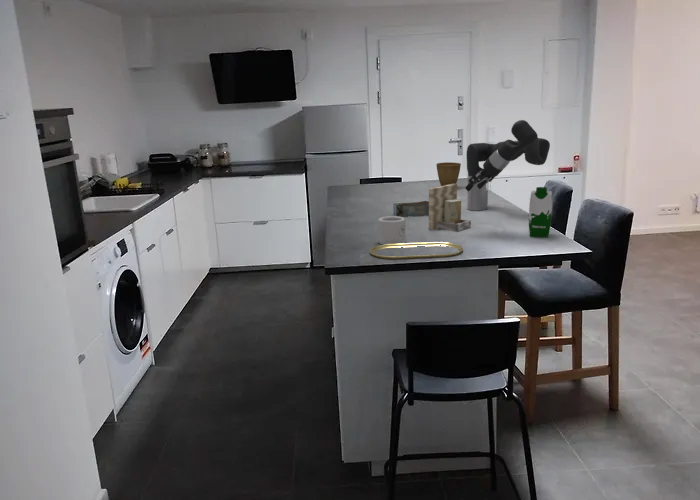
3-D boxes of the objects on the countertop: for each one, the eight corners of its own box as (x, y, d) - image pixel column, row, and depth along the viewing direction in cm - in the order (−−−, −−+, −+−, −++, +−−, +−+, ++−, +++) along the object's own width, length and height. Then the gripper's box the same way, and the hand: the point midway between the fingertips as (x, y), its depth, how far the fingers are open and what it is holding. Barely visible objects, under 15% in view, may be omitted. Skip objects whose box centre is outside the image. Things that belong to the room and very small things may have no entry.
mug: (397, 247, 229) (397, 222, 227) (373, 244, 235) (373, 219, 232) (413, 239, 240) (412, 215, 238) (389, 237, 246) (389, 213, 244)
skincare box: (449, 229, 256) (450, 201, 253) (443, 227, 260) (443, 200, 257) (461, 227, 259) (461, 200, 256) (455, 225, 263) (455, 198, 260)
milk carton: (527, 237, 238) (529, 188, 233) (528, 232, 246) (530, 185, 241) (550, 238, 235) (553, 188, 230) (550, 233, 243) (553, 185, 238)
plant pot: (431, 189, 365) (431, 164, 361) (446, 186, 375) (446, 161, 371) (450, 192, 355) (450, 165, 351) (465, 189, 364) (465, 163, 360)
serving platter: (367, 248, 229) (367, 244, 229) (456, 245, 231) (456, 241, 231) (372, 261, 211) (372, 257, 211) (468, 257, 213) (468, 253, 213)
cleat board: (452, 222, 270) (453, 183, 265) (475, 225, 261) (476, 185, 257) (428, 229, 258) (428, 188, 253) (451, 233, 249) (452, 191, 245)
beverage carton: (392, 214, 293) (392, 201, 291) (430, 212, 295) (430, 199, 294) (396, 218, 285) (396, 204, 284) (434, 215, 288) (434, 202, 286)
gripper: (492, 170, 231) (468, 197, 242) (512, 167, 241) (487, 193, 252) (481, 156, 234) (457, 183, 245) (501, 154, 243) (477, 180, 254)
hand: (472, 188), depth 248 cm, fingers open, 8 cm apart
